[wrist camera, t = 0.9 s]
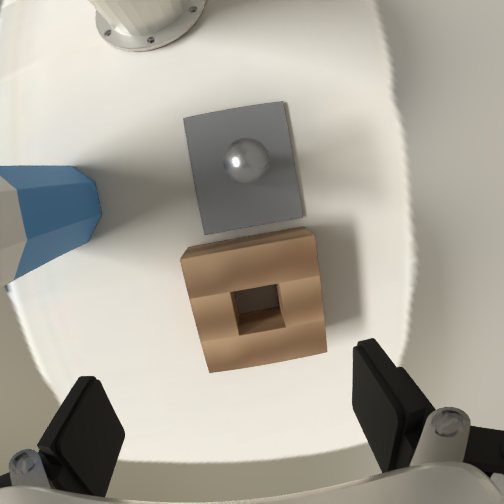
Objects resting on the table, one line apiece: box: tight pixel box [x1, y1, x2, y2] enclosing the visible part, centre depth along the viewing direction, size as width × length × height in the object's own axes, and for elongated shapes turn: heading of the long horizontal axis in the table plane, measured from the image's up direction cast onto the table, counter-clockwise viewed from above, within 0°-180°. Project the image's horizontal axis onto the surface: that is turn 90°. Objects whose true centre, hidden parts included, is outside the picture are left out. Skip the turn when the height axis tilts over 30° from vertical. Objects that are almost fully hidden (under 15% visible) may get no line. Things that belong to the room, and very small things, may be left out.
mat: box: [183, 101, 303, 235], centre depth 31 cm, size 12×10×1 cm
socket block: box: [180, 227, 327, 373], centre depth 32 cm, size 12×12×5 cm
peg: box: [223, 138, 270, 184], centre depth 26 cm, size 3×3×11 cm
